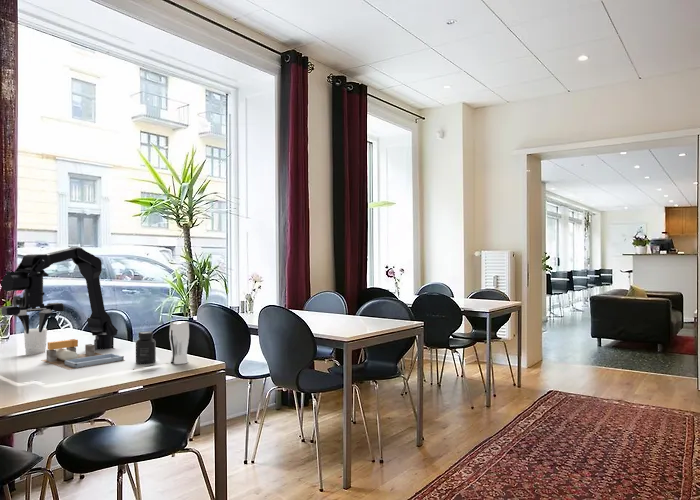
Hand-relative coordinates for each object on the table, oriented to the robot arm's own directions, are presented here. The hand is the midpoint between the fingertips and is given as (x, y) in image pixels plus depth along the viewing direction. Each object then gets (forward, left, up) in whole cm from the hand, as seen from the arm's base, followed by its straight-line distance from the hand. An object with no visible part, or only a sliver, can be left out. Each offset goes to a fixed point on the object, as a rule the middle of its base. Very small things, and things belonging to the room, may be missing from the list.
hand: (33, 333), depth 190 cm
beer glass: (-37, +35, -12) cm, 52 cm away
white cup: (-9, -23, -12) cm, 28 cm away
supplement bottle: (-27, +29, -12) cm, 41 cm away
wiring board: (-14, +8, -12) cm, 20 cm away
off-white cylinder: (-9, +3, -11) cm, 15 cm away
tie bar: (-10, 0, -7) cm, 12 cm away
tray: (-15, +15, -11) cm, 24 cm away
